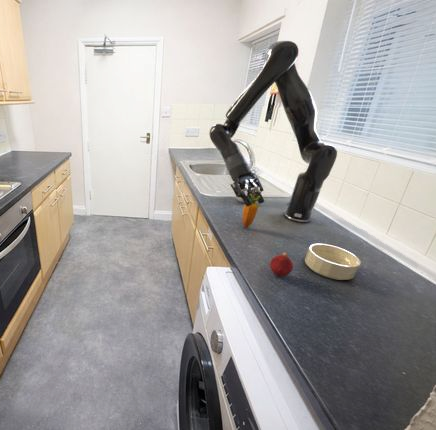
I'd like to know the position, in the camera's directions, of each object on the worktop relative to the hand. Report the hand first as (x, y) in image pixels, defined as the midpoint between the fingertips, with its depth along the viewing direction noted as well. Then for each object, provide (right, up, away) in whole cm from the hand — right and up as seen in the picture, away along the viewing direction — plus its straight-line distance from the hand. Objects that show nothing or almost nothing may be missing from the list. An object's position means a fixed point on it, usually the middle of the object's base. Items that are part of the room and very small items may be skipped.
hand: (255, 204), depth 103 cm
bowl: (+13, -22, -18) cm, 31 cm away
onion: (-5, -23, -22) cm, 32 cm away
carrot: (-1, -10, +6) cm, 12 cm away
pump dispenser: (+12, +2, +33) cm, 36 cm away
